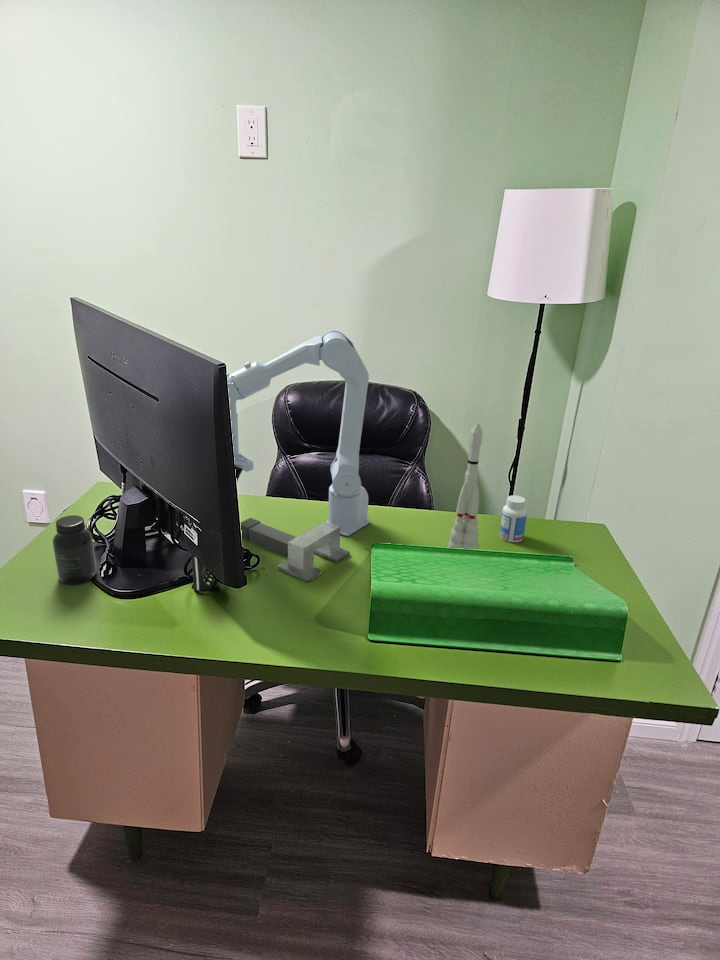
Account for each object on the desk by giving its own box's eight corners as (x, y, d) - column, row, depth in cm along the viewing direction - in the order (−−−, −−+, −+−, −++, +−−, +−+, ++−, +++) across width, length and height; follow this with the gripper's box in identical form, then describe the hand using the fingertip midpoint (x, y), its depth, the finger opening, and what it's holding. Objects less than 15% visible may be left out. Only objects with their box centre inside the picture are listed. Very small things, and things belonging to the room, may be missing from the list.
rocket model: (438, 551, 137) (451, 419, 126) (465, 544, 141) (480, 415, 129) (458, 567, 132) (475, 430, 120) (486, 560, 135) (504, 426, 123)
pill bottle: (523, 534, 147) (529, 495, 143) (523, 544, 142) (529, 505, 138) (499, 530, 148) (505, 492, 144) (498, 541, 143) (504, 501, 139)
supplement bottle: (71, 565, 126) (63, 511, 121) (103, 569, 125) (96, 514, 120) (51, 583, 120) (41, 526, 115) (85, 587, 119) (76, 531, 114)
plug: (250, 530, 143) (250, 517, 142) (303, 551, 135) (304, 538, 134) (238, 536, 140) (237, 523, 139) (291, 559, 132) (291, 545, 131)
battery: (213, 593, 119) (210, 539, 115) (193, 591, 119) (189, 538, 115) (222, 573, 125) (219, 522, 121) (203, 572, 126) (200, 520, 121)
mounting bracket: (320, 543, 139) (320, 516, 136) (349, 554, 134) (350, 527, 132) (277, 569, 128) (276, 540, 125) (307, 582, 124) (308, 553, 121)
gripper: (187, 432, 136) (191, 489, 141) (235, 447, 129) (237, 507, 134) (211, 424, 142) (214, 480, 147) (259, 439, 134) (260, 497, 139)
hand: (227, 492), depth 141 cm, fingers closed
